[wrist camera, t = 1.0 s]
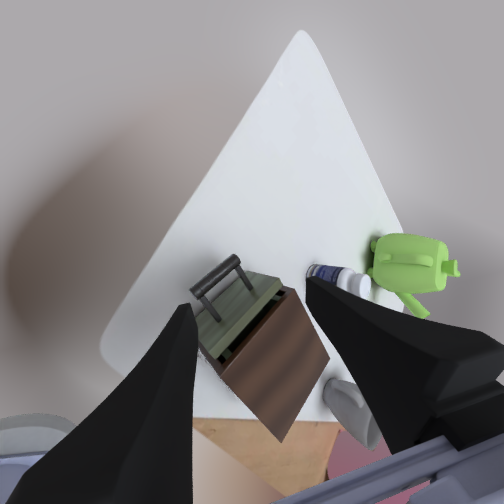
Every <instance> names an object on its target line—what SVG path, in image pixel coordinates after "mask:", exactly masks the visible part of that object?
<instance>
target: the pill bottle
mask: <svg viewBox="0 0 504 504" xmlns="http://www.w3.org/2000/svg"><path fill="white" fill-rule="evenodd" d="M311 276H317V277H320V278H322V279H324V280H326V281H328V282H330V283H332V284H333V285H335V286H337V287H339V288H341V289H343V290H345V291H348V292H350V293H352V294H354V295H356V296H358V297H361V298H363V299H366V298H367V297H368V295H369V293H370V289H371V279H370V277H369V276H368V275H366V274H361V273H357V274H356V272H355V271H354V270H352V269H350V268H344V267H335V266H327V265H317V264H316V265H313V266H311V267H310V269H309V270H308V273H307V277H311Z"/></svg>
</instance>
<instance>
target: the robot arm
mask: <svg viewBox="0 0 504 504" xmlns="http://www.w3.org/2000/svg"><path fill="white" fill-rule="evenodd" d="M305 303H306V305H307V307H308V309H309V310H310V312H311V314H312V316H313V317H314V319H315V320H316V322H317V323H318V325H319V326H320V328H321V329H322V330H323V332H324V333H325V335H326V336H327V337H328V339H329V340H330V342H331V343H332V344H333V346H334V347H335V349H336V350H337V352H338V353H339V355H340V356H341V358H342V360H343V361H344V363H345V365H346V367H347V368H348V370H349V372H350V374H351V375H352V377H353V379H354V381H355V383H356V384H357V386H358V388H359V390H360V392H361V394H362V396H363V397H364V399H365V401H366V403H367V405H368V407H369V409H370V411H371V413H372V415H373V417H374V419H375V421H376V423H377V425H378V427H379V429H380V431H381V433H382V435H383V437H384V439H385V441H386V443H387V445H388V448H389V450H390V452H391V454H392V456H389V457H387V458H384V459H382V460H379V461H376V462H374V463H371V464H369V465H366V466H364V467H361V468H358V469H356V470H353V471H351V472H349V473H346V474H343V475H341V476H338V477H336V478H333V479H331V480H328V481H326V482H323V483H321V484H318V485H316V486H313V487H310V488H308V489H305V490H303V491H300V492H298V493H295V494H293V495H290V496H288V497H285V498H283V499H280V500H278V501H275V502H273V503H270V504H375V503H377V502H379V501H382V500H384V499H386V498H389V497H391V496H393V495H396V494H398V493H400V492H403V491H405V490H407V489H409V488H412V487H414V486H416V485H419V484H421V483H423V482H426V481H428V480H430V479H431V480H430V485H428V486H427V487H425V488H423V489H421V490H420V491H418V492H416V493H414V494H413V495H411V496H410V498H409V501H408V502H407V503H406V504H504V386H503V385H501V384H500V383H499V382H498V381H496V378H497V377H498V376H499V375H500V374H501V372H502V371H503V370H504V345H503V344H501V343H499V342H498V341H496V340H495V339H493V338H491V337H490V336H488V335H486V334H485V333H483V332H481V331H476V330H471V329H466V328H461V327H456V326H451V325H446V324H442V323H438V322H433V321H429V320H425V319H422V318H418V317H414V316H411V315H408V314H404V313H401V312H398V311H395V310H392V309H389V308H386V307H383V306H380V305H378V304H375V303H373V302H370V301H368V300H365V299H363V298H361V297H358V296H356V295H354V294H352V293H350V292H348V291H345V290H343V289H341V288H339V287H337V286H335V285H333V284H332V283H330V282H328V281H326V280H324V279H322V278H320V277H317V276H311V277H306V301H305ZM197 354H198V326H197V323H196V320H195V317H194V314H193V311H192V307H191V304H190V303H186V304H182V305H179V306H178V307H177V309H176V310H175V312H174V313H173V315H172V317H171V318H170V320H169V321H168V323H167V324H166V326H165V327H164V329H163V330H162V332H161V333H160V335H159V336H158V338H157V339H156V341H155V342H154V343H153V345H152V346H151V347H150V349H149V350H148V351H147V353H146V354H145V355H144V357H143V358H142V359H141V360H140V362H139V363H138V364H137V365H136V366H135V368H134V369H133V370H132V371H131V372H130V373H129V374H128V376H127V377H126V378H125V379H124V380H123V381H122V382H121V383H120V384H119V385H118V386H117V387H116V388H115V389H114V391H113V392H112V393H111V394H110V395H109V396H108V397H107V398H106V399H105V400H104V401H103V402H102V403H101V404H100V405H99V406H98V407H97V408H96V409H95V410H94V411H93V412H92V413H91V414H90V415H89V416H88V417H87V418H85V419H84V420H83V421H82V422H81V423H80V424H79V425H78V426H77V427H76V428H75V429H74V430H73V431H71V432H70V433H69V434H68V435H67V436H66V437H65V438H64V439H63V440H61V441H60V442H59V443H58V444H57V445H56V446H55V447H53V448H52V449H51V450H50V451H43V452H33V453H23V454H13V455H3V456H0V504H193V489H192V488H193V485H192V484H193V482H192V420H193V391H194V381H195V372H196V363H197Z"/></svg>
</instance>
